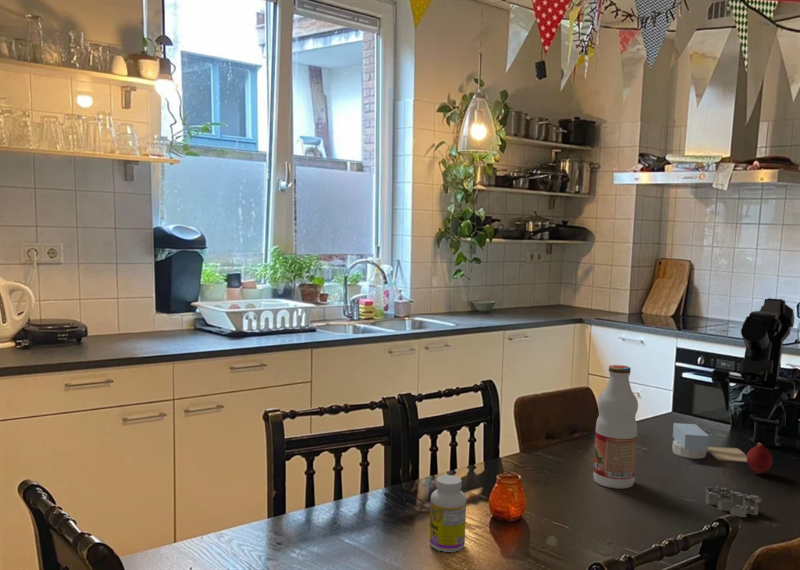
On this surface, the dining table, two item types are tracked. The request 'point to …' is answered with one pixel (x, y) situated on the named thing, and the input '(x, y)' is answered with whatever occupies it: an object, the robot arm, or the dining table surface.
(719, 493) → the egg carton
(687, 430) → the light blue block
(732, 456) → the mat
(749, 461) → the onion
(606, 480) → the fruit juice
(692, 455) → the bowl
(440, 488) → the supplement bottle
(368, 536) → the dining table surface
